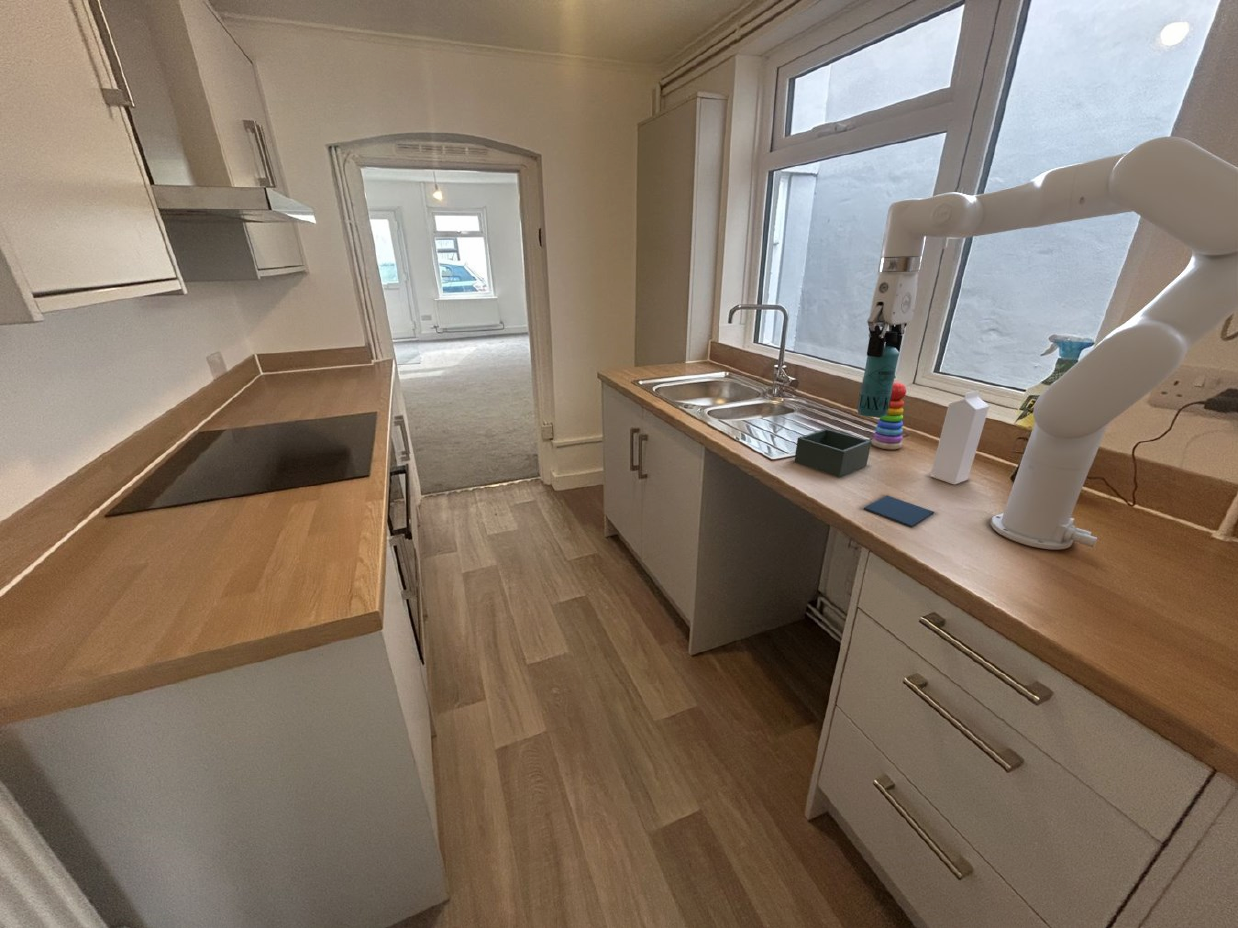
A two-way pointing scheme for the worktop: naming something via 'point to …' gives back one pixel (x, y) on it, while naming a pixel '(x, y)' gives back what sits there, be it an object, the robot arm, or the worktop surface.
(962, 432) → the milk
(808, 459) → the basket
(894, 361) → the beverage bottle
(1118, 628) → the worktop surface
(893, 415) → the stacking toy
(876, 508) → the mat
